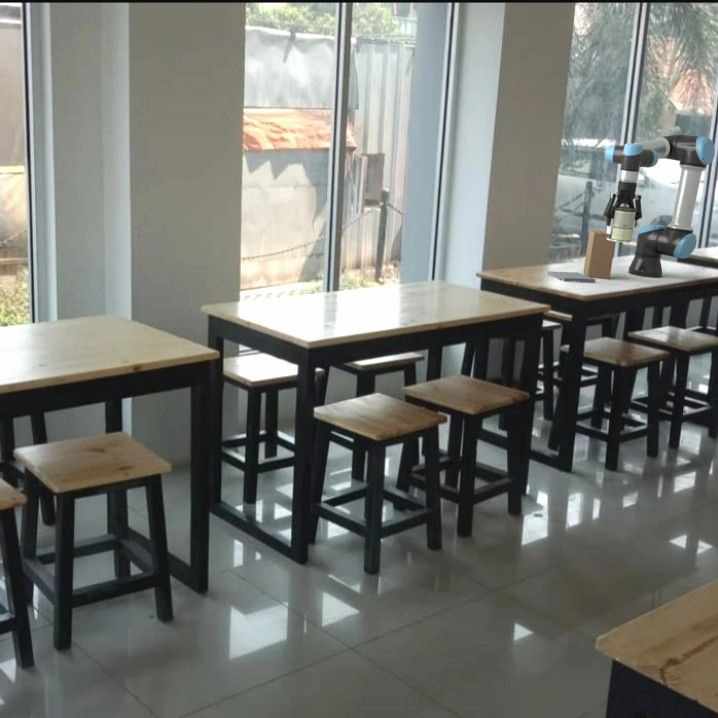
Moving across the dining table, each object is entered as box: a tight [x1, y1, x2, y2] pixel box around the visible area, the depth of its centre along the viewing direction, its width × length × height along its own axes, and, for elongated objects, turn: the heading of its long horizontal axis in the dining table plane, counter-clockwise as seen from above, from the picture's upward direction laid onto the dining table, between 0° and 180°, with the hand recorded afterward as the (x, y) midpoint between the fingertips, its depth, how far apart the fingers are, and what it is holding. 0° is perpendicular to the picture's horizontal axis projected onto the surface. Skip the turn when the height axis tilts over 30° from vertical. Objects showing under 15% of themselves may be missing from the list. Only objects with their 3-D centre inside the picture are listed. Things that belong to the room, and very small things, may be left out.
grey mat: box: [546, 271, 596, 284], centre depth 452 cm, size 15×15×2 cm
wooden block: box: [582, 229, 616, 280], centre depth 462 cm, size 10×10×20 cm
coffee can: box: [607, 205, 636, 244], centre depth 437 cm, size 10×10×14 cm
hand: (619, 234), depth 439 cm, fingers closed on coffee can, 10 cm apart
